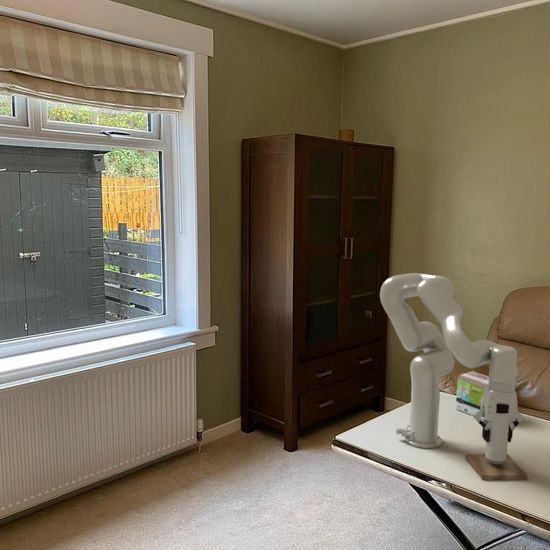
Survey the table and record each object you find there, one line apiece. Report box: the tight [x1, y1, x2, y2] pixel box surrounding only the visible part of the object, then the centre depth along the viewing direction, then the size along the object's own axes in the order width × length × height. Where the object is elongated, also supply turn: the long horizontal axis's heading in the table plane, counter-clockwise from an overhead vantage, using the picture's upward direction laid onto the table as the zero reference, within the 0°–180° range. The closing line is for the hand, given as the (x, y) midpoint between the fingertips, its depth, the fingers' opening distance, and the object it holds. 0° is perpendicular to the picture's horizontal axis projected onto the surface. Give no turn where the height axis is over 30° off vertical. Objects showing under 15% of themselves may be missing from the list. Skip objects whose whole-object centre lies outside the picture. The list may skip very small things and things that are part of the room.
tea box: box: [455, 370, 489, 421], centre depth 221 cm, size 15×10×15 cm
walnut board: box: [464, 453, 529, 481], centre depth 176 cm, size 14×14×4 cm
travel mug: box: [484, 404, 509, 464], centre depth 175 cm, size 6×7×20 cm
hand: (496, 439), depth 175 cm, fingers closed on travel mug, 6 cm apart
